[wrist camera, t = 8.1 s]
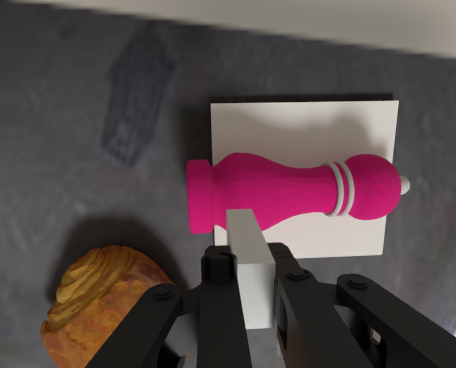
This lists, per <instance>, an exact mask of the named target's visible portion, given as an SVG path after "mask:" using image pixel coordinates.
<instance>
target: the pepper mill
mask: <svg viewBox="0 0 456 368" xmlns="http://www.w3.org/2000/svg"><path fill="white" fill-rule="evenodd" d="M409 188H410V182H409V180H408V179H407V178H406V177H404V176H399V174H398V172H397V170H396V168H395V166H394V165H393V164H392V163H390V162H389V161H388V160H387V159H385V158H383V157H380V156H377V155H373V154H359V155H355V156H352V157H350V158H348V159H347V160H346V161H345V162H344V163H343V162H342V161H334V162H331V161H325V162H323V163H322V164H321V165H320V166H319V167H313V168H294V167H288V166H285V165H282V164H279V163H276V162H274V161H271V160H269V159H266V158H264V157H262V156H259V155H255V154H251V153H239V152H235V153H231V154H229V155H227V156H226V157H225V158H224V159H223V160H221V161H220V162H219V163H218V164H216V165H215V166H211V165H210V163H209V162H208V160H206V159H204V160H189V161H187V197H188V214H189V226H190V232H191V233H192V234H199V233H210V232H211V231H212V230H213V228H214V226H215V225H218V226H220V227H222V228H223V229H225V230H226V231H227V228H226V210H232V209H252V211H253V213H254V216H255V218H256V220H257V222H258V225H259V227H260V229H261V231H264V230H267V229H268V228H270V227H272V226H274V225H276V224H278V223H280V222H282V221H284V220H286V219H288V218H290V217H293V216H296V215H300V214H306V213H313V212H319V213H324V214H325V215H326V216H328V217H334V216H340V217H342V216H345V215H346V214H348V215H350V216H351V217H353V218H356V219H359V220H374V219H378V218H381V217H384V216H386V215H387V214H389V213H390V212H391V211H392V210H393V209H394V208H395V207H396V205H397V204H398V202H399V199H400V196H401V194H404V193H406V192H407V191H408V190H409Z"/></svg>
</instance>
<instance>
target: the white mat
mask: <svg viewBox="0 0 456 368" xmlns="http://www.w3.org/2000/svg"><path fill="white" fill-rule="evenodd" d="M398 103H399V101H350V102H284V103H217V104H211V128H212V162H213V166H215V165H216V164H218V163H219V162H220V161H221V160H223V159H224V158H225V157H226V156H227V155H229V154H231V153H235V152H239V153H251V154H255V155H259V156H262V157H264V158H266V159H269V160H271V161H274V162H276V163H279V164H282V165H285V166H288V167H294V168H313V167H319V166H320V165H321V164H322V163H323V162H325V161H331V162H334V161H342V162H343V163H344V162H345V161H346V160H347V159H348V158H350V157H352V156H355V155H359V154H373V155H377V156H380V157H383V158H385V159H387V160H388V161H389V162H390V163H392V159H393V149H394V140H395V131H396V122H397V112H398ZM385 223H386V216H384V217H381V218H378V219H374V220H359V219H356V218H353V217H351V216H350V215H348V214H346V215H345V216H342V217H340V216H334V217H328V216H326V215H325V214H324V213H319V212H313V213H306V214H300V215H296V216H293V217H290V218H288V219H286V220H284V221H282V222H280V223H278V224H276V225H274V226H272V227H270V228H268V229H267V230H264V231H262V234H263V236H264V238H265V240H266V243H273V242H282V243H283V244H285V245H286V246H288V248H289V249H290V251H291V253H292V254H293V256H294V258H315V257H339V256H363V255H382V251H383V242H384V233H385ZM214 229H215V246H216V245H227V231H226V230H225V229H223V228H222V227H220V226H218V225H215V226H214Z"/></svg>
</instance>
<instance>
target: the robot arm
mask: <svg viewBox="0 0 456 368" xmlns="http://www.w3.org/2000/svg"><path fill="white" fill-rule="evenodd" d="M226 228H227V245H216V246H209V247H208V248H207V249H206V250H205V255H204V256H202V258H201V273H202V282H201V284H200V285H199V286H197V287H195V288H194V289H191V290H188V291H184V292H182V290H181V288H180V287H179V286H178V285H176V284H172V283H161V284H157V285H155V286H152V287H150V288H149V289H148V290H146V291H145V292H144V293H143V295H142V296H141V297H140V298H139V300H138V301H137V302H136V303H135V305H134V306H133V307H132V309H131V310H130V311H129V312H128V314H127V315H126V316H125V317H124V319H123V320H122V321H121V322H120V324H119V325H118V326H117V327H116V329H115V330H114V331H113V332H112V334H111V335H110V336H109V337H108V339H107V340H106V341H105V342H104V344H103V345H102V346H101V347H100V349H99V350H98V351H97V352H96V354H95V355H94V356H93V357H92V359H91V360H90V361H89V362H88V364H87V365H86V366H85V367H84V368H183V365H184V363H185V358H186V354H189V353H192V352H195V351H197V366H196V368H252V363H251V357H250V351H249V345H248V339H247V333H246V329H257V328H274V316H275V319H276V322H277V355H280V349H281V352H282V355H283V359H284V362H285V365H286V368H456V337H455V336H453V335H452V334H450V333H449V332H447V331H446V330H444V329H443V328H441V327H440V326H438V325H437V324H436V323H434V322H433V321H431V320H430V319H428V318H427V317H425V316H424V315H422V314H421V313H419V312H418V311H416V310H415V309H414V308H412V307H411V306H409V305H408V304H406V303H405V302H403V301H402V300H400V299H399V298H397V297H396V296H394V295H393V294H392V293H390V292H389V291H387V290H386V289H384V288H383V287H381V286H380V285H378V284H377V283H375V282H374V281H372V280H371V279H369V278H367V277H364V276H361V275H359V274H343V275H341V276H339V277H338V278H337V285H334V284H327V283H321V282H318V281H317V280H316V278H315V277H314V275H313V274H312V273H311V272H310V271H308V270H306V269H303V268H301V267H300V266H299V264H298V262H297V261H296V259H295V258H294V256H293V254H292V253H291V251H290V249H289V248H288V246H286V245H285V244H283V243H282V242H273V243H266V240H265V238H264V236H263V234H262V231H261V229H260V227H259V225H258V222H257V220H256V218H255V216H254V213H253V211H252V209H232V210H226ZM373 329H374V330H375V331H376V332H377V333H378V334H379V335H380V336H381V340H380V343H379V342H378V341H376V340H375V339H374V338H373Z"/></svg>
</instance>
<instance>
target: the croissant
mask: <svg viewBox="0 0 456 368" xmlns="http://www.w3.org/2000/svg"><path fill="white" fill-rule="evenodd" d="M161 283H172V284H174V283H173V282H171V281H170V280H169V278H168V277H167V276H166V275H165V273H164V271H162V270H161V269H160V267H159V266H158V265H157V264H156V263H155V262H154V261H152V260H151V259H150V258H149V257H148V256H146V255H144V254H143V253H141V252H139V251H136V250H134V249H132V248H131V247H126V246H122V247H120V246H118V245H110V246H107V247H104V248H102V249H100V248H94V249H91V250H90V251H89V252H88V253H87V254H86V255H85V256H83V257H81V258H80V259H78V260H76V261H75V262H74V263H73V264H71V266H69V267H68V269H67V270H66V272H65V274H63V277H62V279H61V283H60V284H59V286H58V289H57V292H56V298H57V300H56V301H55V302H54V305H53V307H52V308H50V310H49V311H48V313H47V315H48V317H49V322H47V320H45V321H44V322H43V323H42V324H41V330H40V336H41V338H42V341H43V343H44V345H45V348H46V351H47V352H48V354H49V355H50V357H51V358H52V360H53V361H54V362H55V364H56V365H57V366H58V368H84V367H85V366H86V365H87V364H88V362H89V361H90V360H91V359H92V357H93V356H94V355H95V354H96V352H97V351H98V350H99V349H100V347H101V346H102V345H103V344H104V342H105V341H106V340H107V339H108V337H109V336H110V335H111V334H112V332H113V331H114V330H115V329H116V327H117V326H118V325H119V324H120V322H121V321H122V320H123V319H124V317H125V316H126V315H127V314H128V312H129V311H130V310H131V309H132V307H133V306H134V305H135V303H136V302H137V301H138V300H139V298H140V297H141V296H142V295H143V293H144V292H145V291H146V290H148V289H149V288H150V287H152V286H155V285H157V284H161ZM188 355H189V354H186V358H187V357H188ZM186 358H185V360H186Z"/></svg>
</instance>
